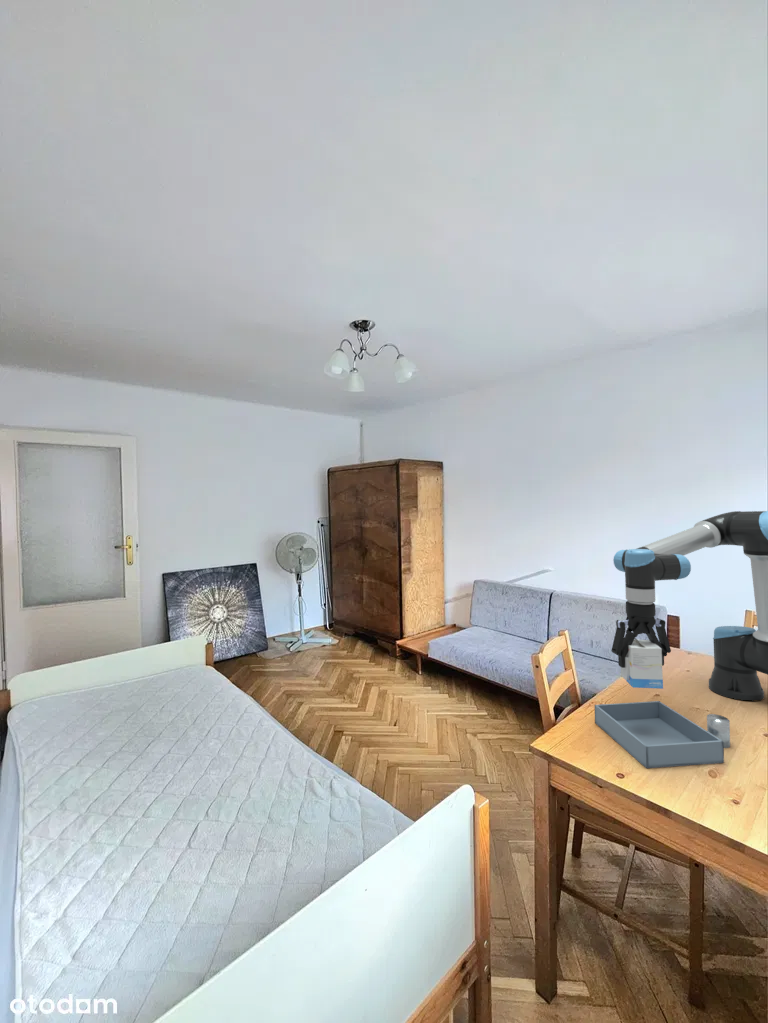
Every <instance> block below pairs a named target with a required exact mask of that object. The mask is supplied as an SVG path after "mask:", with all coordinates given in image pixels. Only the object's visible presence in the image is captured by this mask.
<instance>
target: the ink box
mask: <svg viewBox="0 0 768 1023" xmlns="http://www.w3.org/2000/svg"><path fill="white" fill-rule="evenodd" d="M626 656H627V657H629V680H626V679H625V678H623V679H624V680H625V681H626V683H628V684H629V685H630V686H631V687H632V688H633V689H634V688H635V689H662V690H663V689H664V681H663V680H664V676H663V666H662V648H660V647H659V646H658V645H656V644H655V643H652V642H650V640H649V639H638V638H637V637H635V639H634V641H633V643H632V645H629V651H628V653H627V655H626Z"/></svg>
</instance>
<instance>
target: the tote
mask: <svg viewBox="0 0 768 1023" xmlns="http://www.w3.org/2000/svg"><path fill="white" fill-rule="evenodd" d="M594 724H596V725H597V726H598V728H600V729H601V730H602V731H603V732H604V733H606V734H607V735H608V736H609V737H610V738H611V739H613V740H614V741H615V742H616V743H617V744H618V745H619V746H621V747H622V749H624V750H625V751H626V752H627V753H628V754H629V755H631V756H632V757H633V758H634V759H636V761H637V762H639V763H640V765H642V766H643V767H644V768H646V769H654V768H655V769H657V768H671V767H685V766H697V765H698V766H699V765H711V764H712V765H713V764H724V763H725V757H724V756H725V752H724V749H725V748H724V741H722V740H721V739H719V738H717V737H716V736H714V735H713V734H711V733H709V732H708V731H707V729H705V728H703V727H702V726H700V725H699V724H697V723H695V722H693V721H692V720H690V719H689V718H687V717H685V716H684V715H682V713H679V712H677V711H676V710H674V709H673V708H671V707H670V706H668V705H667V704H665V703H664V702H661V701H660V700H652V701H637V702H622V703H621V702H620V703H618V702H617V703H603V704H594Z"/></svg>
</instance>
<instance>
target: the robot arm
mask: <svg viewBox="0 0 768 1023" xmlns="http://www.w3.org/2000/svg"><path fill="white" fill-rule="evenodd" d="M718 546H737V547H742V549H743V555H744V556H746V557H747V558H749V559H750V566H751V569H750V570H751V577H752V585H753V595H754V603H755V604H754V605H755V613H756V620H757V621H756V623H757V629H755V628H753V627H749V626H748V627H747V626H741V625H724V626H723V625H722V626H717V627H715V629H714V630H713V638H712V639H713V661H714V662H713V663H714V665H713V668H712V673H711V675H710V678H709V679H708V688H709V689H710V691H712V692H713V693H716V694H717V695H720V696H722V697H726V698H729V699H732V698H734V700H737V699H741V700H740V701H743V700H752V701H751V702H754V701H753V700H760V701H762V700H761V699H763V698H765V691H764V688H763V687H762V684H761V681H760V679H759V675H758V674H757V673H758V672H759V673H763V674H764V675H768V510H762V511H761V510H759V511H755V510H754V511H753V510H752V511H740V510H738V511H729V512H724V513H721V514H717V515H715V516H711V517H708V518H706V519H703V520H700V521H697V522H696V523H695V524H694V525H693V527H691V528H688V529H686V530H682V531H680V532H678V533H674V534H671V535H669V536H667V537H663V538H661V539H659V540H656V541H653V542H650V543H648V544H645V545H643V546H642V545H641V546H639V547H637V548H631V549H630V548H629V549H621V550H617V551H616V553H615V554H614V556H613V558H612V559H613V560H612V561H613V565H614V567H615V569H616V570H618V571H620V572H623V573H624V576H625V578H624V579H625V581H624V582H625V599H626V601H625V613H626V614H625V615H626V617H625V620H624V619H623V620H619V619H617V620H616V621H615V626H616V629H615V633H614V636H613V638H614V639H613V643H612V647H611V651H610V652H611V653H612V654H614V655H617V656H618V657H617V658H618V660H617V661H618V666H619V667H620V677H622V678H623V679H624V678H625V679H626V680H629V657H627V656H626V655H627V653H628V651H629V645H632V643H633V641H634V640H635V638H638V635H642V634H645V635H646V637H647V638H648V640H650V642H652V643H655V644H656V645H658V646H659V647H660V648H662V667H664V666H665V657H667V656H668V654H670V653H671V651H672V649H671V646H670V642H669V638H668V635H667V631H666V621H665V620H663V619H661V618H659V617H658V618H655V616H656V604H655V602H656V581H671V580H674V581H677V580H681V579H686V578H687V577H688V576H689V575H690V574H691V570H692V565H691V562H690V560H689V559H688V557H686V555H689V554H690V553H694V552H696V551H699V550H702V549H703V548H704V549H705V548H711V549H712V548H716V547H718ZM654 626H655V630H656V631H655V630H654V628H653V627H654ZM625 679H624V680H625ZM626 680H625V681H626ZM763 700H764V699H763Z"/></svg>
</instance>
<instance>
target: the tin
mask: <svg viewBox="0 0 768 1023" xmlns="http://www.w3.org/2000/svg"><path fill="white" fill-rule="evenodd" d="M706 722H707V723H706V731H708V732H709V733H711V734H713V735H714V736H716V737H717V738H719V739H721V740H722V741H724V749H729V748H730V747H731V729H730V727H731V726H730V724H731V723H730V718H727V717H725V716H723V715H720V714H715V713H708V714H707V715H706Z"/></svg>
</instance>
